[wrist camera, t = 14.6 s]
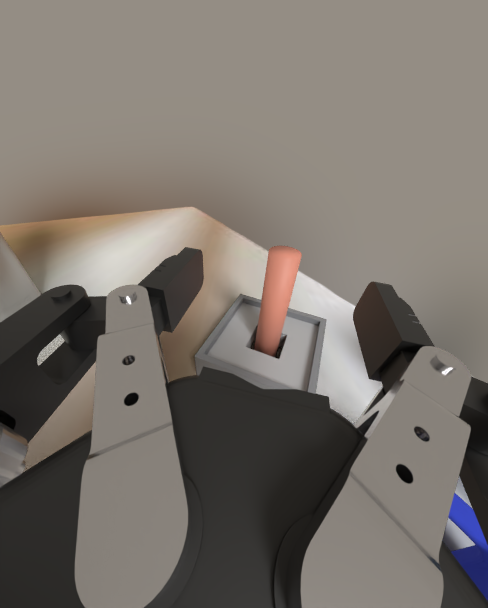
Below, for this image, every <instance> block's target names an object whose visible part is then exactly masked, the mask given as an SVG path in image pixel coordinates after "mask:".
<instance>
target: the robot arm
mask: <svg viewBox="0 0 488 608" xmlns="http://www.w3.org/2000/svg"><path fill="white" fill-rule="evenodd" d="M203 279H204V275H203V255H202V251H201V250H199V249H193V248H188V247H185V248H184V249H183V250H182V251H181V252H180V253H179V254H178V255H177V256H176V255H174V256H171V257H169V258H167V259H165V260H164V261H163V262H162V263H161V264H160V265H159V266H157V267H156V268H155V269H154V270H153V271H152V272H151V273H150V274H149V275H148V276H147V277H145V278H144V279H143V280H142V281H141V282H140V283H139V284H138V285H126V286H122V287H119V288H116V289H115V290H113V291H111V292H110V293H109V294H108V296H99V297H88V295H87V293H86V291H85V289H84V288H83V287H81V286H78V285H64V286H59V287H56V288H53V289H50V290H48V291H47V292H45V293H43V294H42V295H41V293H40V292H39V290H38V289H37V287H36V286H35V284H34V283H33V281H32V280H31V278H30V276H29V275H28V273H27V272H26V270H25V269H24V267H23V266H22V264H21V263H20V261H19V260H18V258H17V257H16V255H15V254H14V252H13V251H12V249H11V248H10V246H9V245H8V243H7V242H6V240H5V239H4V237H3V235H2V234H1V232H0V608H488V601H487V599H486V598H485V597H484V595H483V594H482V593H481V591H480V590H479V589H478V587H477V586H476V585H475V583H474V582H473V581H472V579H471V578H470V577H469V575H468V574H467V573H466V571H465V570H464V569H463V567H462V566H461V565H460V563H459V562H458V561H457V559H456V558H455V557H454V555H453V554H452V553H451V551H450V550H449V549H448V547H447V546H446V545H445V543H444V542H443V541H442V539H443V535H444V531H445V527H446V524H447V520H448V516H449V512H450V508H451V504H452V501H453V497H454V493H455V489H456V485H457V481H458V478H459V476H460V478H461V481H462V483H463V486H464V488H465V491H466V493H467V496H468V498H469V501H470V503H471V505H472V508H473V510H474V513H475V515H476V518H477V520H478V523H479V525H480V528H481V530H482V533H483V535H484V537H485V540H486V542H487V545H488V383H485V382H483V381H480V380H478V379H476V378H473V377H471V374H470V372H469V370H468V368H467V367H466V366H465V365H464V364H463V363H462V362H461V361H460V360H459V359H458V358H456V357H455V356H453V355H452V354H450V353H448V352H447V351H445V350H442V349H440V348H437V347H435V346H434V345H433V343H432V341H431V340H430V338H429V336H428V335H427V333H426V331H425V330H424V328H423V327H422V325H421V324H419V320H418V319H417V317H416V316H415V314H414V312H413V310H412V309H411V307H410V306H409V305H408V304H407V303H406V302H405V301H403V300H402V299H401V298H399V297H398V296H397V294H396V292H395V290H394V289H393V287H392V286H391V285H389V284H383V283H378V282H371V283H370V284H369V285H368V286H367V288H366V289H365V291H364V293H363V295H362V297H361V298H360V300H359V302H358V304H357V305H356V307H355V310H354V313H353V321H354V325H355V328H356V332H357V336H358V340H359V343H360V347H361V351H362V355H363V358H364V362H365V366H366V369H367V373H368V377H369V379H372V380H376V381H381V382H382V384H383V387H382V388H381V389H380V390H379V391H378V392H377V393H376V395H375V396H374V398H373V399H372V401H371V402H370V403H369V405H368V406H367V408H366V409H365V411H364V412H363V413H362V415H361V416H360V418H359V419H358V420H357V422H356V423H355V424H354V425H353V424H352V423H350V422H349V421H348V420H347V419H346V418H344V417H343V416H342V415H340V414H339V413H337V412H336V411H334V410H332V409H330V404H329V397H327V396H323V395H318V394H314V393H310V392H306V391H302V390H298V389H262V388H259V387H257V386H256V385H254V384H252V383H250V382H248V381H246V380H244V379H242V378H240V377H238V376H236V375H234V374H232V373H228V372H224V371H220V370H216V369H212V368H208V367H204V366H203V368H202V370H201V373H200V375H194V376H187V377H183V378H179V379H176V380H173V381H171V382H169V378H168V374H167V369H166V365H165V360H164V355H163V351H162V346H161V341H160V337H159V335H160V334H161V332H162V331H167V332H171V333H172V332H173V331H174V329H175V328H176V326H177V324H178V323H179V321H180V320H181V318H182V317H183V315H184V314H185V312H186V311H187V309H188V308H189V306H190V305H191V303H192V301H193V300H194V298H195V297H196V295H197V294H198V292H199V291H200V289H201V287H202V284H203ZM59 334H60V335H61V336H62V337H63V339H64V340H65V342H64V343H63V344H62V345H61V346H59V347H58V348H57V349H56V350H55V351H54V352H53V353H52V354H51V355H50V356H49V357H48V358H47V359H46V360H45V361H44V362H43V363H42V364H41V365H40V366H38V365H37V357H38V355H39V353H40V352H41V350H42V349H43V348H44V347H46V346H47V345H48V344H49V343H50V342H51V341H52V340H53V339H54V338H56V337H57V336H58V335H59ZM95 361H96V373H95V390H94V407H93V424H92V430H91V431H89V432H88V433H86V434H84V435H83V436H81V437H80V438H78V439H76V440H75V441H73V442H71V443H70V444H68V445H67V446H65V447H63V448H62V449H60V450H59V451H57V452H55V453H54V454H52V455H51V456H49V457H47V458H46V459H44V460H43V461H41V462H39V463H38V464H36V465H35V466H33V467H31V468H30V469H28V470H27V471H25V472H23V471H24V469H25V465H26V464H25V461H24V458H25V456H26V453H27V449H28V443H29V442H30V440H31V439H32V438H33V437H34V435H35V434H36V433H37V432H38V431H39V429H40V428H41V427H42V426H43V424H44V423H45V422H46V421H47V420H48V418H49V417H50V416H51V415H52V414H53V412H54V411H55V410H56V409H57V407H58V406H59V405H60V404H61V403H62V401H63V400H64V399H65V398H66V397H67V395H68V394H69V393H70V392H71V390H72V389H73V388H74V387H75V386H76V384H77V383H78V382H79V381H80V380H81V378H82V377H83V376H84V375H85V373H86V372H87V371H88V370H89V369H90V367H91V366H92V365H93V364H94V363H95ZM22 472H23V473H22Z"/></svg>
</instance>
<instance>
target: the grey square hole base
mask: <svg viewBox="0 0 488 608" xmlns="http://www.w3.org/2000/svg"><path fill="white" fill-rule="evenodd" d="M261 301H262V300H259V299H256V298H253V297H249V296H246V295H242V294H240V295H239V297H238V298H237V300H236V301H235V302H234V304H233V305H232V306H231V308H230V309H229V310H228V312H227V313H226V314H225V316H224V317H223V318H222V320H221V321H220V322H219V324H218V325H217V326H216V328H215V329H214V330H213V332H212V333H211V334H210V336H209V337H208V339H207V340H206V341H205V343H204V344H203V345H202V347H201V348H200V349H199V351H198V352H197V353H196V355H195V356H194V357H195V365H196V373H197V375H200V373H201V370H202V368H203V366H204V367H208V368H212V369H216V370H220V371H224V372H228V373H232V374H234V375H236V376H238V377H240V378H242V379H244V380H246V381H248V382H250V383H252V384H254V385H256V386H257V387H259V388H262V389H298V390H302V391H306V392H310V393H314V394H316V388H317V381H318V374H319V367H320V360H321V353H322V347H323V340H324V333H325V326H326V319H323V318H320V317H317V316H313V315H310V314H306V313H303V312H300V311H296V310H293V309H290V308H288V310H287V314H286V318H285V322H284V326H283V330H282V334H281V338H280V341H279V345H278V347H281V348H283V350H282V352H281V355H280V358H279V359H277V358H275V357H272V356H269V355H266V354H264V353H261V352H258V351H255V350H253V349H250V348H251V346H252V344H253V342H254V340H255V339H256V334H257V327H258V321H259V314H260V307H261Z"/></svg>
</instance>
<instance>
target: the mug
mask: <svg viewBox="0 0 488 608" xmlns="http://www.w3.org/2000/svg"><path fill="white" fill-rule="evenodd" d="M448 518H450V519H451V520H452V521H453V522H454V523H455V524H456V525H457V526H458V527H459V528H460V529H461V530H462V531H463V532H464V533H465V534H466V535H467V536H468V537H469V538H470V539H471V540H472V541H473V542H474V543H475V545H474V546H470V547H467V548H463V549H459V550H455V551H451V553H452V554H453V555H454V557H455V558H456V559H457V561H458V562H459V563H460V565H461V566H462V567H463V569H464V570H465V571H466V573H467V574H468V575H469V577H470V578H471V579H472V581H473V582H474V583H475V585H476V586H477V587H478V589H479V590H480V591H481V593H482V594H483V595H484V597H485V598H486V599H487V601H488V545H487V542H486V540H485V537H484V535H483V533H482V530H481V528H480V525H479V523H478V520H477V518H476V515H475V513H474V510H473V509H472V508H471V507H470V506H469V505H468V504H467V503H465V502H464V501H463V500H462V499H461V498H460V497H459V496H458V495H456V494H455V493H454V497H453V501H452V504H451V508H450V512H449V516H448Z"/></svg>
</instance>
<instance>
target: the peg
mask: <svg viewBox="0 0 488 608" xmlns="http://www.w3.org/2000/svg"><path fill="white" fill-rule="evenodd" d="M301 256H302V254H301V252H300V251H298V250H297V249H294V248H292V247H288V246H274V247H272V248H270V249H269V254H268V261H267V267H266V274H265V281H264V287H263V294H262V301H261V307H260V314H259V321H258V327H257V334H256V341H255V347H254V350H255V351H258V352H261V353H264V354H266V355H269V356H272V357H276V353H277V349H278V345H279V341H280V338H281V334H282V330H283V326H284V322H285V318H286V314H287V310H288V307H289V303H290V299H291V295H292V291H293V287H294V283H295V279H296V275H297V272H298V267H299V264H300V259H301Z"/></svg>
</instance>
